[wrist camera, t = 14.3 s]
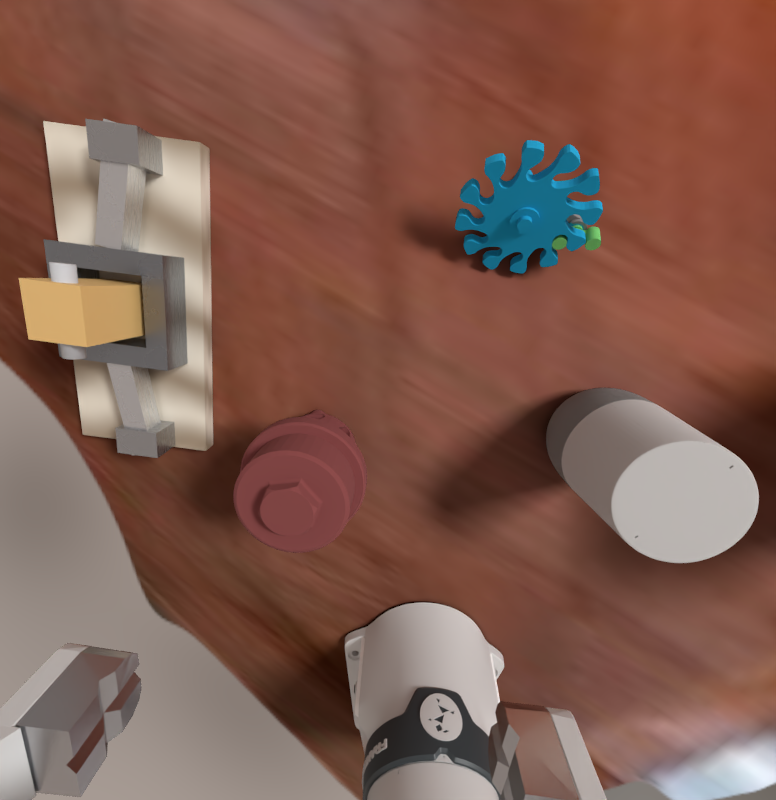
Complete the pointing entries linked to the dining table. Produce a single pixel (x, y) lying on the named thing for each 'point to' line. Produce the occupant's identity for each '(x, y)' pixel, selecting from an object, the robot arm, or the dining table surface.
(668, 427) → the smart speaker
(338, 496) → the mechanical component
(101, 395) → the board
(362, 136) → the dining table surface
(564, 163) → the blue toothed wheel
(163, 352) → the shaft assembly
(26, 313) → the coupler
